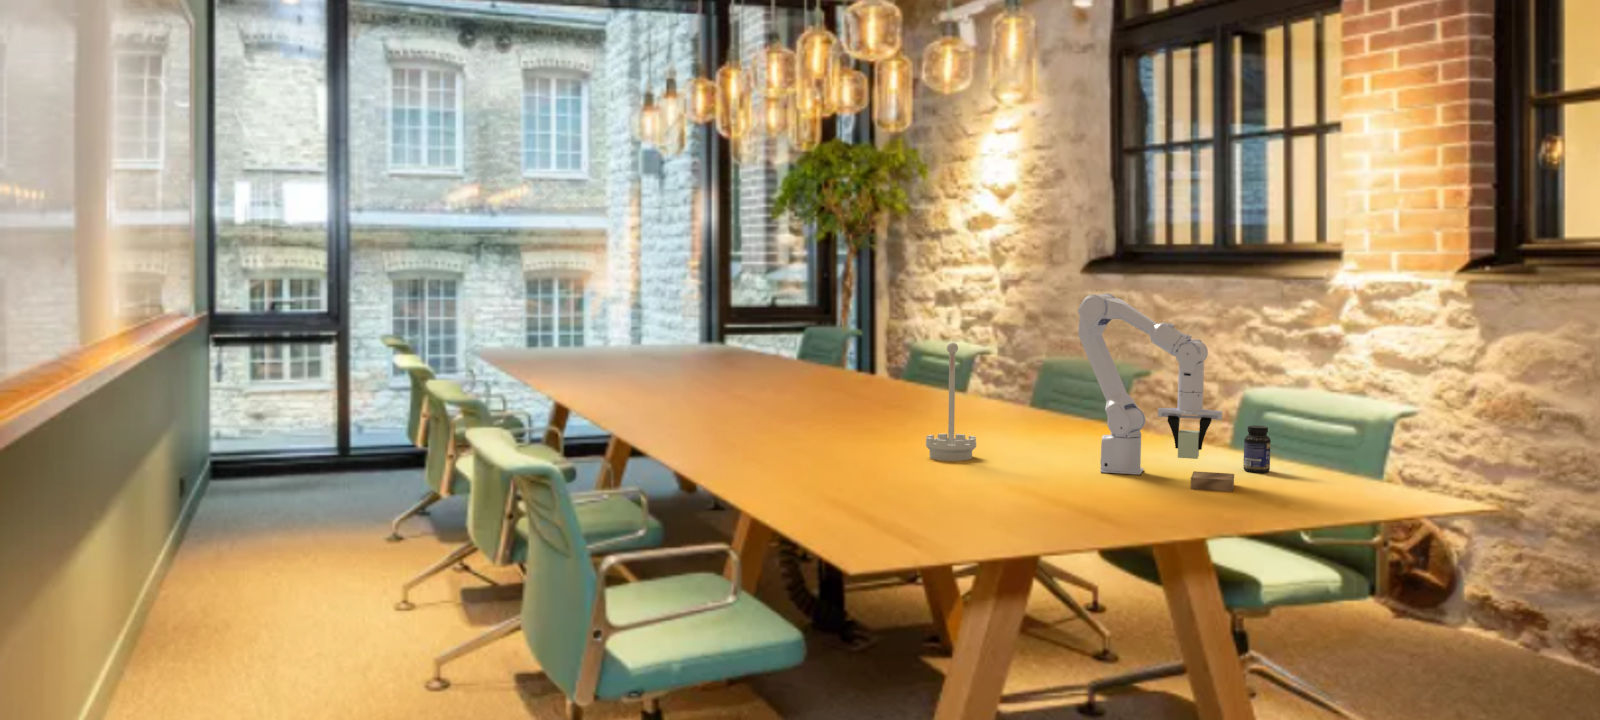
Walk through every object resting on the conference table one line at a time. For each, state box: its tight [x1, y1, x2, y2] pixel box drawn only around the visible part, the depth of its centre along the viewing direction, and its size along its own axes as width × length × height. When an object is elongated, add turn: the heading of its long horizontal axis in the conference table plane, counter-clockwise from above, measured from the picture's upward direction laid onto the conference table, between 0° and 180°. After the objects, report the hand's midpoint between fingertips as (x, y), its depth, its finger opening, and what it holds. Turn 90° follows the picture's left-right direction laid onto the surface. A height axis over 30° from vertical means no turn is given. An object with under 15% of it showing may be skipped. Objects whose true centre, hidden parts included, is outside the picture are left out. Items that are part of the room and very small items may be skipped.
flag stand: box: [925, 342, 977, 462], centre depth 337 cm, size 13×13×30 cm
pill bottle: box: [1243, 424, 1271, 474], centre depth 319 cm, size 6×6×11 cm
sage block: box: [1177, 429, 1200, 460], centre depth 308 cm, size 4×4×6 cm
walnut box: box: [1190, 471, 1235, 493], centre depth 298 cm, size 9×9×3 cm
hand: (1188, 448), depth 308 cm, fingers closed on sage block, 4 cm apart
